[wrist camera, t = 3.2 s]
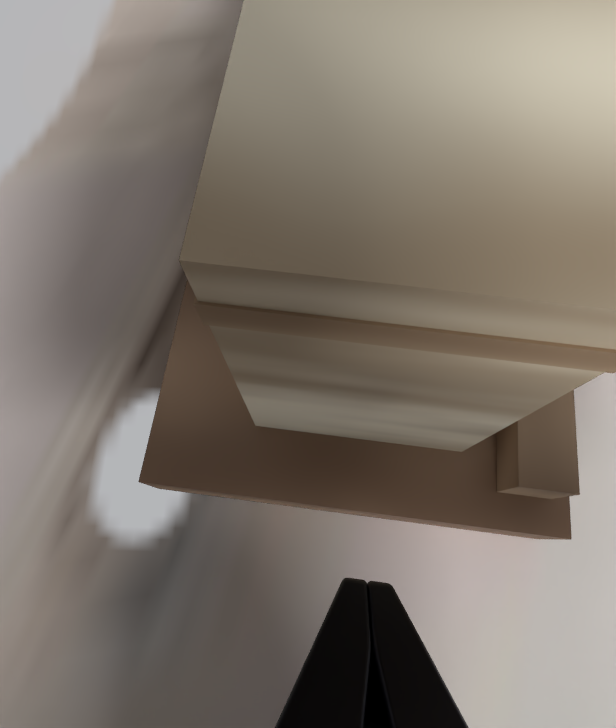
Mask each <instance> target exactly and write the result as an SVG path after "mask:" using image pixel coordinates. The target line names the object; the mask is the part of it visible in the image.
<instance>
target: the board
mask: <svg viewBox="0 0 616 728" xmlns="http://www.w3.org/2000/svg"><path fill="white" fill-rule="evenodd" d="M194 299H195V294H194V292H193V290H192V288H191V285H190V283H189V281H188V279H187V282H186V286H185V290H184V294H183V299H182V303H181V307H180V311H179V315H178V319H177V324H176V328H175V332H174V336H173V340H172V344H171V349H170V353H169V357H168V361H167V365H166V370H165V374H164V378H163V382H162V386H161V390H160V395H159V399H158V403H157V407H156V411H155V416H154V420H153V424H152V428H151V433H150V436H149V441H148V445H147V449H146V453H145V457H144V461H143V466H142V470H141V474H140V478H139V482H141V483H144V484H147V485H150V486H153V487H156V488H159V489H166V490H174V491H181V492H188V493H196V494H203V495H211V496H218V497H226V498H233V499H241V500H248V501H256V502H263V503H271V504H278V505H286V506H293V507H301V508H308V509H316V510H323V511H331V512H338V513H346V514H353V515H361V516H368V517H376V518H383V519H391V520H399V521H406V522H414V523H421V524H429V525H436V526H444V527H451V528H459V529H466V530H474V531H481V532H489V533H496V534H504V535H511V536H519V537H526V538H534V539H571V522H570V503H569V496H573V495H580V492H579V475H578V458H577V441H576V424H575V407H574V390H572V391H570V392H568V393H567V394H565V395H563V396H561V397H560V398H558V399H556V400H554V401H552V402H551V403H549V404H547V405H545V406H543V407H542V408H540V409H538V410H536V411H534V412H533V413H531V414H529V415H527V416H525V417H524V418H522V419H520V420H518V421H516V422H515V423H513V424H511V425H509V426H507V427H506V428H504V429H502V430H500V431H498V432H497V433H495V434H493V435H491V436H489V437H488V438H486V439H484V440H482V441H480V442H479V443H477V444H475V445H473V446H471V447H470V448H468V449H466V450H464V451H462V452H459V451H451V450H443V449H435V448H427V447H419V446H412V445H404V444H396V443H388V442H380V441H372V440H364V439H356V438H348V437H340V436H333V435H325V434H317V433H309V432H301V431H293V430H285V429H277V428H269V427H261V426H255V423H254V421H253V419H252V417H251V415H250V413H249V411H248V408H247V406H246V404H245V402H244V400H243V398H242V395H241V393H240V391H239V389H238V387H237V385H236V383H235V380H234V378H233V376H232V374H231V372H230V370H229V367H228V365H227V363H226V361H225V359H224V357H223V354H222V352H221V350H220V348H219V346H218V344H217V342H216V339H215V337H214V335H213V333H212V331H211V329H210V326H209V325H203V322H202V320H201V318H200V316H199V314H198V312H197V310H196V308H195V306H194Z"/></svg>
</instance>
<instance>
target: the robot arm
mask: <svg viewBox="0 0 616 728" xmlns="http://www.w3.org/2000/svg"><path fill="white" fill-rule="evenodd" d="M275 728H468V726H467V724H466V722H465V720H464V718H463V717H462V715H461V713H460V711H459V709H458V707H457V705H456V703H455V702H454V700H453V698H452V696H451V694H450V692H449V690H448V689H447V687H446V685H445V683H444V681H443V679H442V677H441V676H440V674H439V672H438V670H437V668H436V666H435V664H434V663H433V661H432V659H431V657H430V655H429V653H428V651H427V650H426V648H425V646H424V644H423V642H422V640H421V638H420V636H419V635H418V633H417V631H416V629H415V627H414V625H413V623H412V622H411V620H410V618H409V616H408V614H407V612H406V610H405V609H404V607H403V605H402V603H401V601H400V599H399V597H398V596H397V594H396V592H395V590H394V588H393V587H392V586H391V585H390V584H388V583H382V582H375V581H370V582H368V583H366V581H364V580H360V579H353V578H344V579H343V580H342V582H341V584H340V587H339V589H338V591H337V593H336V595H335V597H334V600H333V602H332V604H331V606H330V608H329V611H328V613H327V615H326V617H325V619H324V622H323V624H322V626H321V628H320V630H319V632H318V635H317V637H316V639H315V641H314V643H313V646H312V648H311V650H310V652H309V654H308V656H307V659H306V661H305V663H304V665H303V667H302V670H301V672H300V674H299V676H298V678H297V680H296V683H295V685H294V687H293V689H292V691H291V694H290V696H289V698H288V700H287V702H286V704H285V707H284V709H283V711H282V713H281V715H280V718H279V720H278V722H277V724H276V726H275Z"/></svg>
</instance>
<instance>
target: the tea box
mask: <svg viewBox="0 0 616 728" xmlns="http://www.w3.org/2000/svg"><path fill="white" fill-rule="evenodd" d="M179 262H180V264H181V266H182V268H183V270H184V273H185V275H186V277H187V279H188V281H189V283H190V285H191V288H192V290H193V292H194V294H195V299H194V306H195V308H196V310H197V312H198V314H199V316H200V318H201V320H202V322H203V325H209V326H210V329H211V331H212V333H213V335H214V337H215V339H216V342H217V344H218V346H219V348H220V350H221V352H222V354H223V357H224V359H225V361H226V363H227V365H228V367H229V370H230V372H231V374H232V376H233V378H234V380H235V383H236V385H237V387H238V389H239V391H240V393H241V395H242V398H243V400H244V402H245V404H246V406H247V408H248V411H249V413H250V415H251V417H252V419H253V421H254V423H255V426H261V427H269V428H277V429H285V430H293V431H301V432H309V433H317V434H325V435H333V436H340V437H348V438H356V439H364V440H372V441H380V442H388V443H396V444H404V445H412V446H419V447H427V448H435V449H443V450H451V451H459V452H462V451H464V450H466V449H468V448H470V447H471V446H473V445H475V444H477V443H479V442H480V441H482V440H484V439H486V438H488V437H489V436H491V435H493V434H495V433H497V432H498V431H500V430H502V429H504V428H506V427H507V426H509V425H511V424H513V423H515V422H516V421H518V420H520V419H522V418H524V417H525V416H527V415H529V414H531V413H533V412H534V411H536V410H538V409H540V408H542V407H543V406H545V405H547V404H549V403H551V402H552V401H554V400H556V399H558V398H560V397H561V396H563V395H565V394H567V393H568V392H570V391H572V390H574V389H576V388H577V387H579V386H581V385H583V384H585V383H586V382H588V381H590V380H592V379H594V378H595V377H597V376H599V375H601V374H603V373H604V372H607V373H615V372H616V0H244V1H243V5H242V9H241V13H240V17H239V21H238V25H237V29H236V33H235V37H234V41H233V45H232V49H231V53H230V57H229V61H228V65H227V69H226V73H225V77H224V81H223V85H222V89H221V93H220V97H219V101H218V105H217V109H216V113H215V117H214V121H213V125H212V129H211V133H210V137H209V141H208V145H207V149H206V153H205V157H204V161H203V165H202V169H201V173H200V177H199V181H198V185H197V189H196V193H195V197H194V201H193V205H192V209H191V213H190V217H189V221H188V225H187V229H186V233H185V237H184V241H183V245H182V249H181V253H180V257H179Z"/></svg>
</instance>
